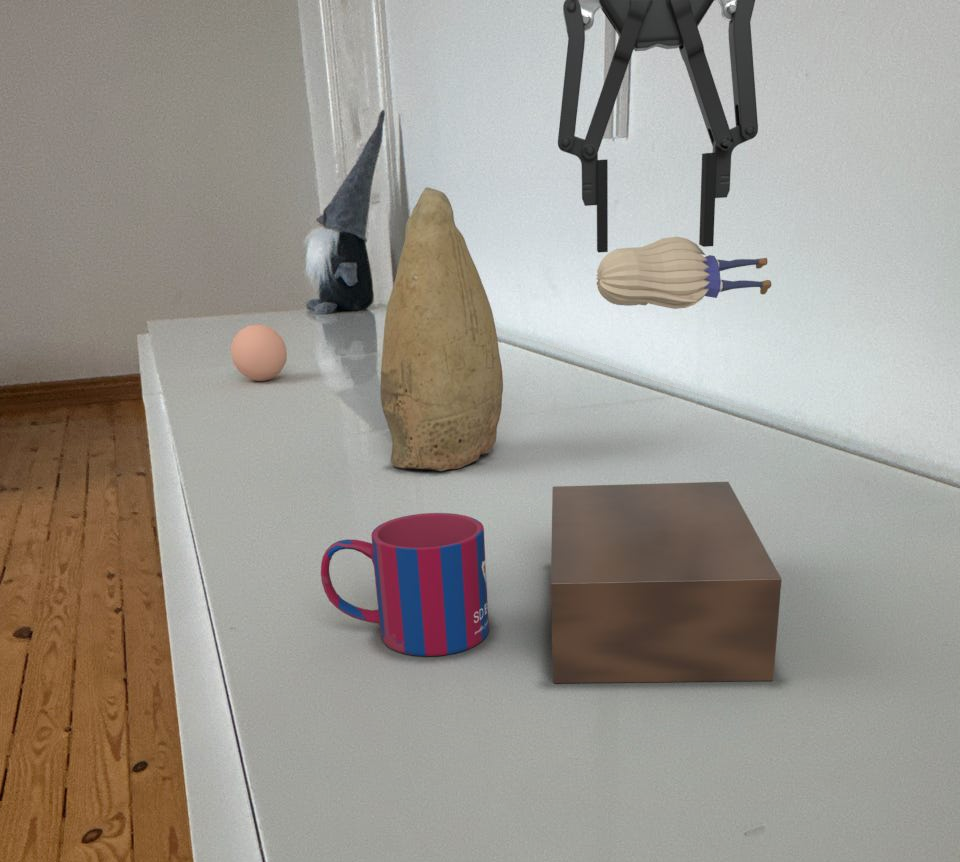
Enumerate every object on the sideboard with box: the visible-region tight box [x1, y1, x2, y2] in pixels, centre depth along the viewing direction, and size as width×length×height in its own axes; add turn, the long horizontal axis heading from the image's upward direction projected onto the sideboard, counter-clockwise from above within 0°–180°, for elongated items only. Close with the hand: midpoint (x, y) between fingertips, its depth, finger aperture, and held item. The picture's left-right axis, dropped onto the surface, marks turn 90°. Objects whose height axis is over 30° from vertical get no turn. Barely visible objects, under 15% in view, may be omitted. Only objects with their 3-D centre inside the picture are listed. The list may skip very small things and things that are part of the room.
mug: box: [320, 512, 490, 657], centre depth 61 cm, size 7×10×7 cm
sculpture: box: [379, 187, 504, 472], centre depth 95 cm, size 12×11×25 cm
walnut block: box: [550, 481, 782, 684], centre depth 62 cm, size 12×18×6 cm, turn 176°
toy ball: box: [230, 323, 288, 382], centre depth 145 cm, size 8×8×8 cm
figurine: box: [595, 236, 772, 310], centre depth 79 cm, size 6×4×15 cm
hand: (654, 247), depth 78 cm, fingers closed on figurine, 7 cm apart
